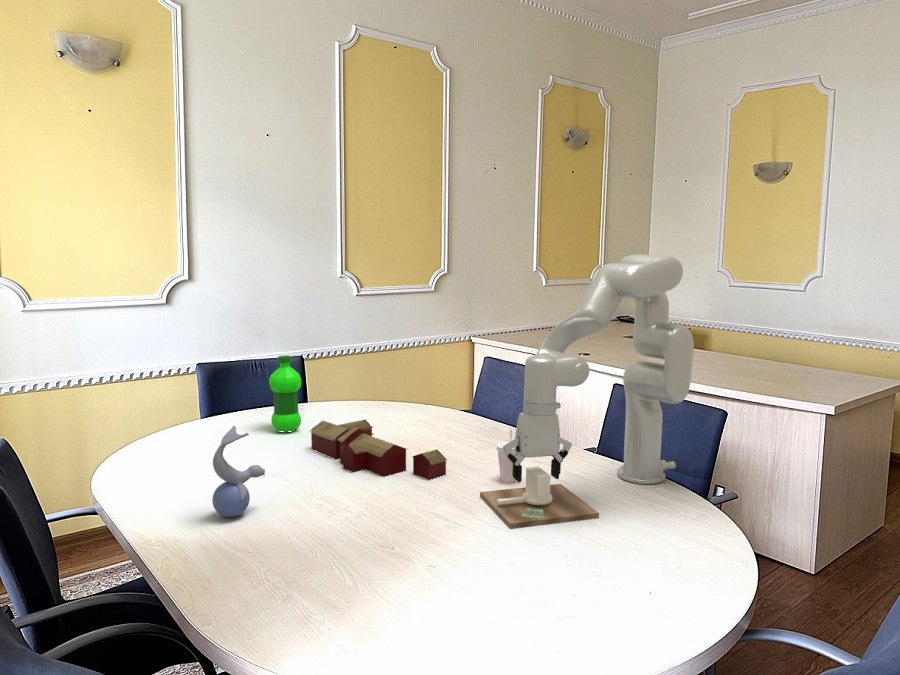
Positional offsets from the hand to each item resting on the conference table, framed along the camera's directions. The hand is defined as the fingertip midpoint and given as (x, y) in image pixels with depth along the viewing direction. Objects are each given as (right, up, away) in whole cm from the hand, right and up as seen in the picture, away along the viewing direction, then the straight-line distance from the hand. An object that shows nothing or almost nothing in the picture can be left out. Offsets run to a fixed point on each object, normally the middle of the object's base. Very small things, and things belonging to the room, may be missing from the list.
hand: (536, 478), depth 165 cm
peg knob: (-3, -5, 0) cm, 6 cm away
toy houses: (-42, -3, +34) cm, 54 cm away
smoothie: (-5, -5, +19) cm, 21 cm away
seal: (-69, -7, -4) cm, 70 cm away
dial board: (0, -7, +1) cm, 7 cm away
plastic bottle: (-75, +2, +64) cm, 99 cm away
